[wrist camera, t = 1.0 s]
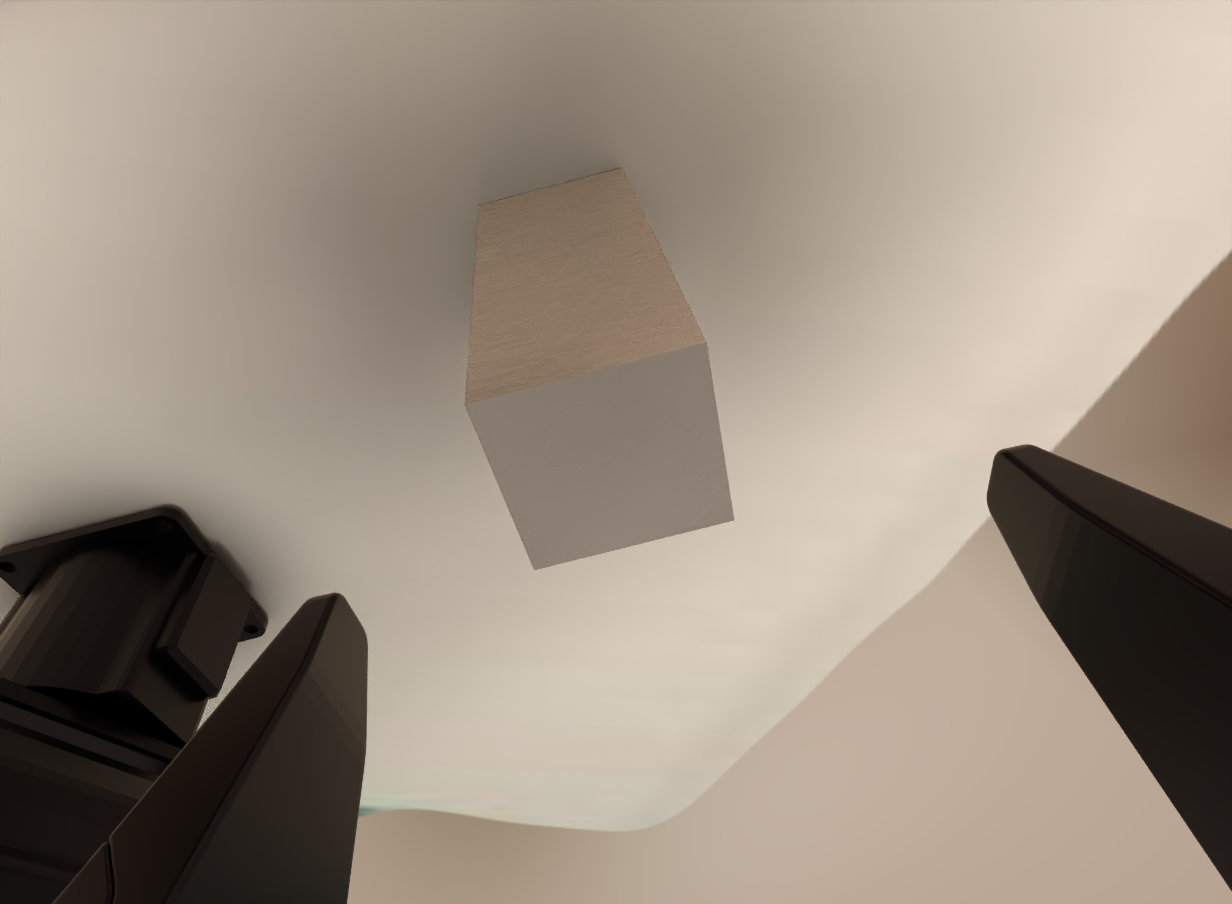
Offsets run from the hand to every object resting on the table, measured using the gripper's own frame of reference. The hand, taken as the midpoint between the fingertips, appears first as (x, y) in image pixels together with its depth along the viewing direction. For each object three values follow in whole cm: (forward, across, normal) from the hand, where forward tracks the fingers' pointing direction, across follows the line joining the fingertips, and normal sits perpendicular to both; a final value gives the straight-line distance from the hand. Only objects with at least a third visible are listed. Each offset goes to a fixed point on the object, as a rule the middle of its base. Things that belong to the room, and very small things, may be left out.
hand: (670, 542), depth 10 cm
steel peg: (+13, +1, +1) cm, 13 cm away
